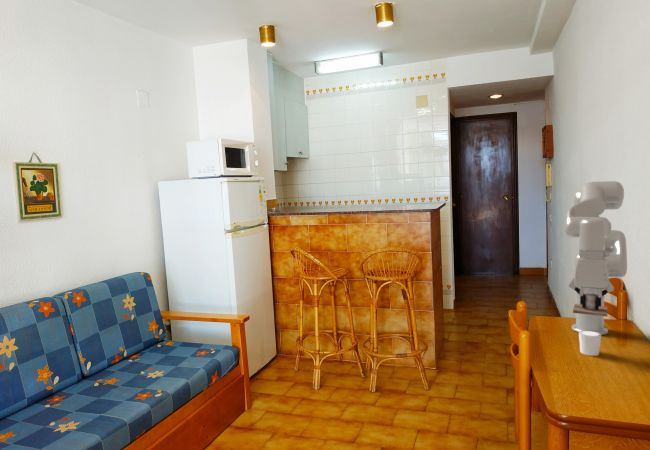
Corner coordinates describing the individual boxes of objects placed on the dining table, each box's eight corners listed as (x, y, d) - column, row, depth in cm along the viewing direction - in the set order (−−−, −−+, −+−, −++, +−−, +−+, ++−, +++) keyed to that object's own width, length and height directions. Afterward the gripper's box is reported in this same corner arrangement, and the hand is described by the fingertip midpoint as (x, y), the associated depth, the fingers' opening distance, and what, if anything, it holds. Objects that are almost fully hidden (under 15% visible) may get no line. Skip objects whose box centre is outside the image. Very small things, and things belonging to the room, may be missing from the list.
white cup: (604, 356, 155) (604, 336, 154) (582, 355, 156) (582, 336, 155) (596, 349, 161) (596, 330, 161) (575, 348, 163) (575, 329, 162)
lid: (574, 305, 164) (575, 290, 164) (607, 309, 159) (607, 292, 158) (572, 312, 156) (573, 296, 155) (607, 316, 150) (607, 299, 150)
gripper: (620, 254, 154) (618, 307, 156) (565, 252, 163) (564, 302, 165) (620, 257, 148) (619, 313, 150) (563, 255, 157) (562, 307, 158)
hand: (590, 307), depth 157 cm, fingers closed on lid, 3 cm apart
